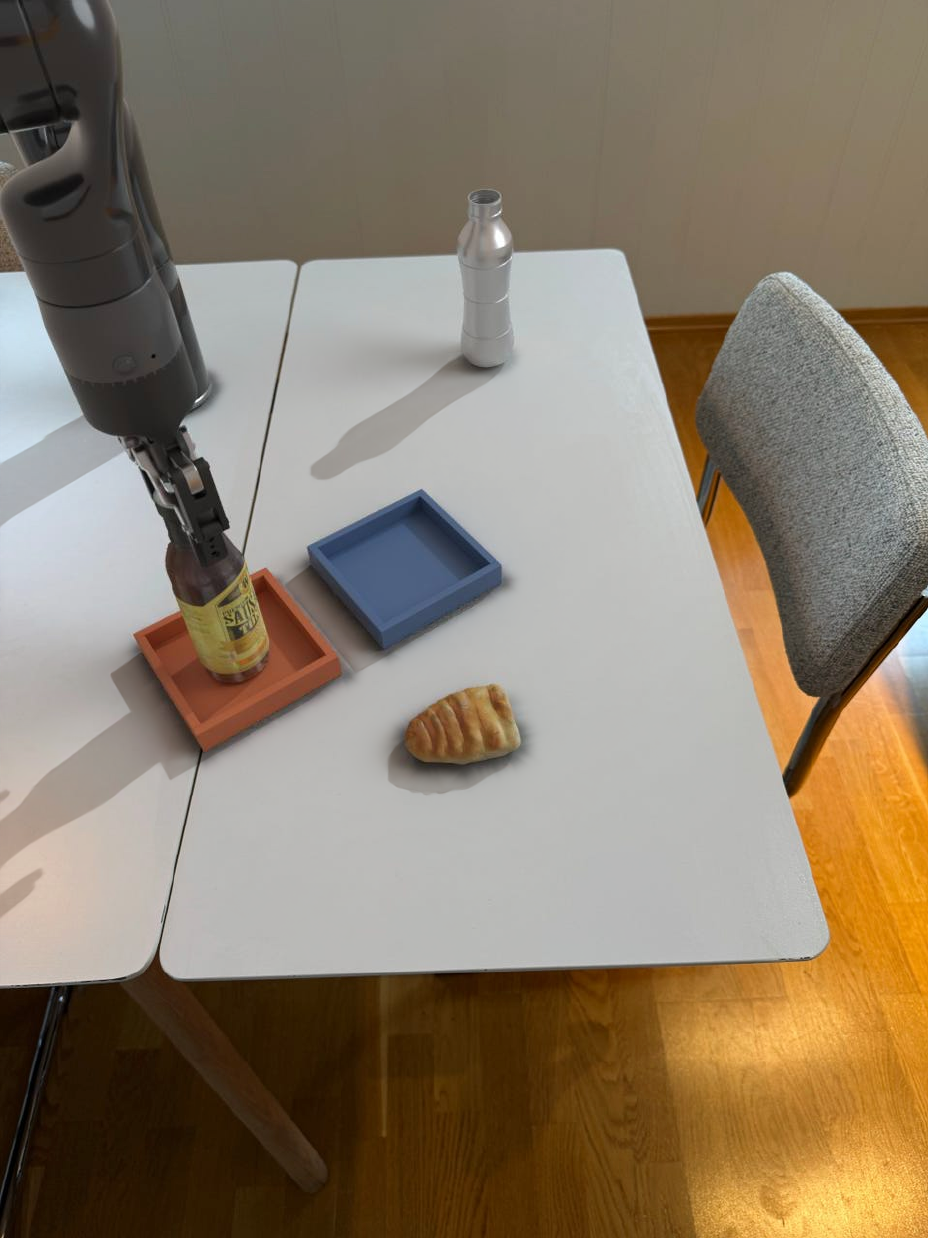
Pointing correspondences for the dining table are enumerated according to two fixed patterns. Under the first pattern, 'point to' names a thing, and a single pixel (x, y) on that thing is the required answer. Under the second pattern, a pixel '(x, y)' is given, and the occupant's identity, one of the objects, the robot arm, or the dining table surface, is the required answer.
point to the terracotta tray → (234, 707)
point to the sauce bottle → (216, 605)
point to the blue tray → (404, 567)
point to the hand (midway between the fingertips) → (189, 528)
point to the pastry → (464, 727)
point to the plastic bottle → (486, 281)
